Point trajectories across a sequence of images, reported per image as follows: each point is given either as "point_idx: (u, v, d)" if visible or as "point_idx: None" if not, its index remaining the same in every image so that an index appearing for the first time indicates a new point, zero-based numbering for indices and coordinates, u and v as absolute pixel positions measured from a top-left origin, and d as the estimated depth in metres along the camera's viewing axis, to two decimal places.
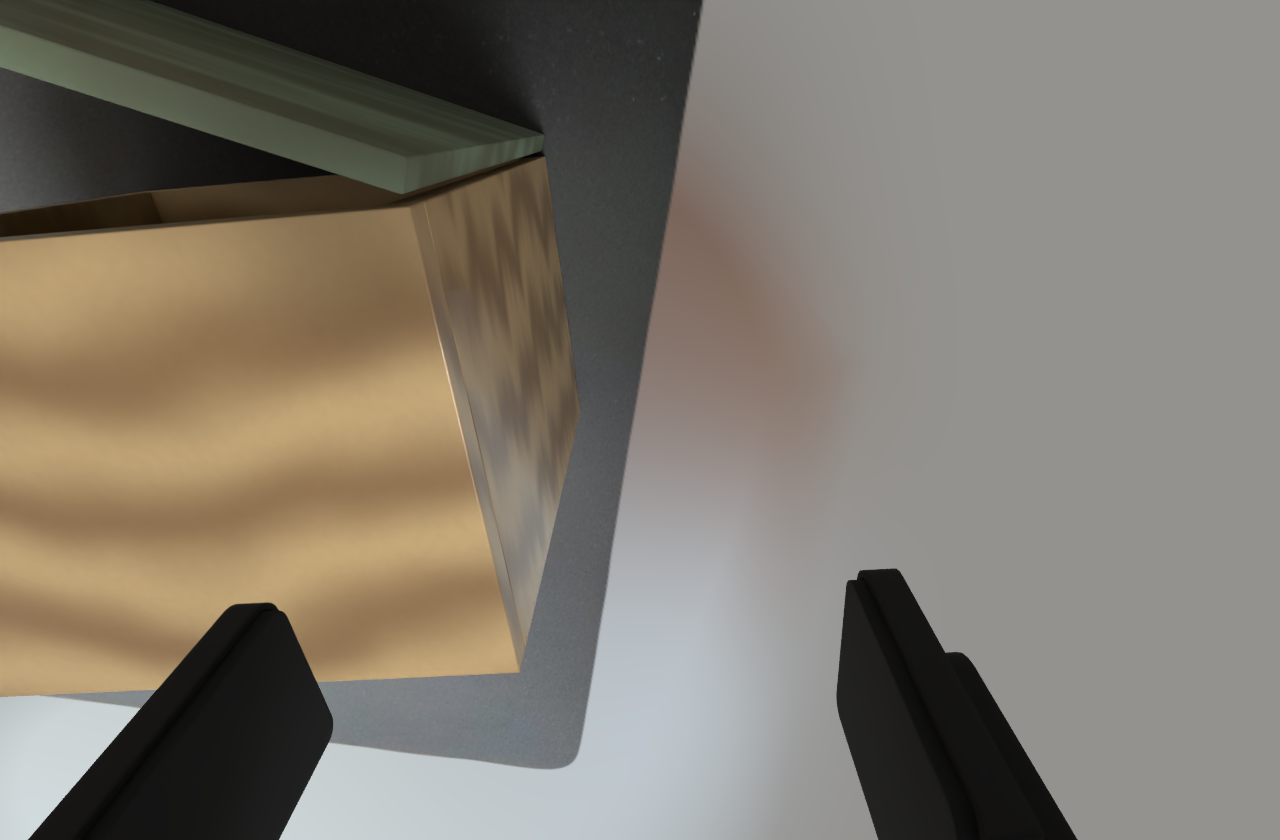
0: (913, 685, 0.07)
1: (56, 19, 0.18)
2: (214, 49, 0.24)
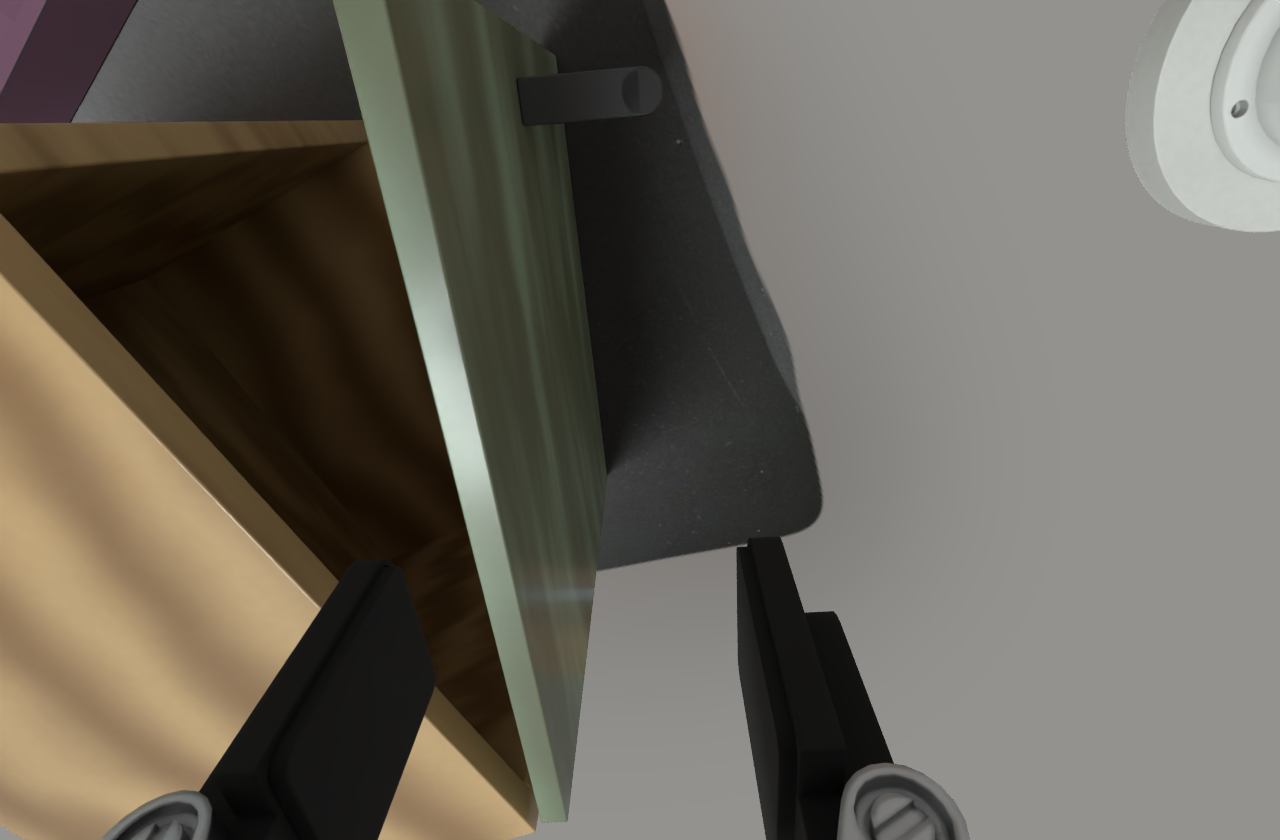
0: (769, 633, 0.08)
1: (535, 485, 0.21)
2: (561, 428, 0.27)
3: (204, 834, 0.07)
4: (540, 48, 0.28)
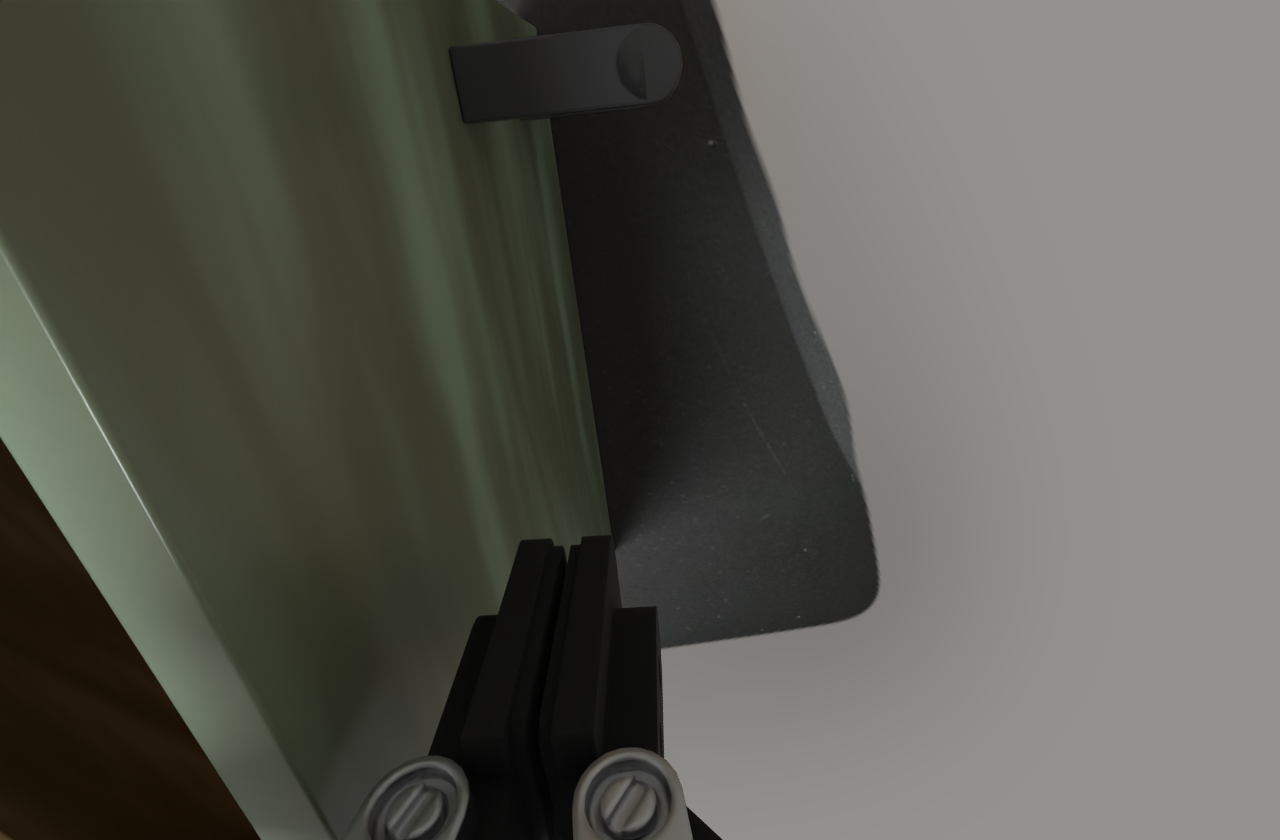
0: (567, 626, 0.09)
1: None
2: None
3: (466, 796, 0.07)
4: (506, 13, 0.20)
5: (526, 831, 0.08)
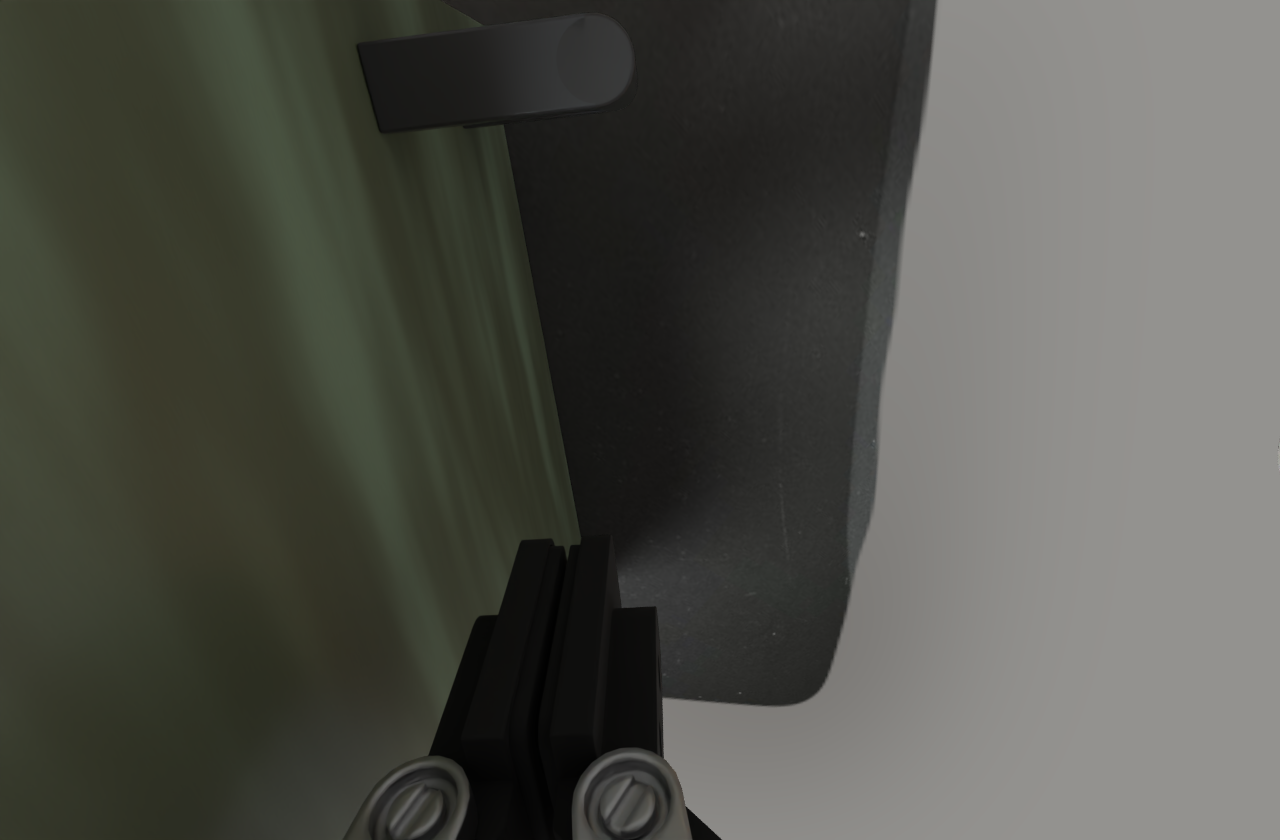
0: (566, 626, 0.09)
1: None
2: None
3: (466, 796, 0.07)
4: (444, 7, 0.17)
5: (527, 830, 0.08)
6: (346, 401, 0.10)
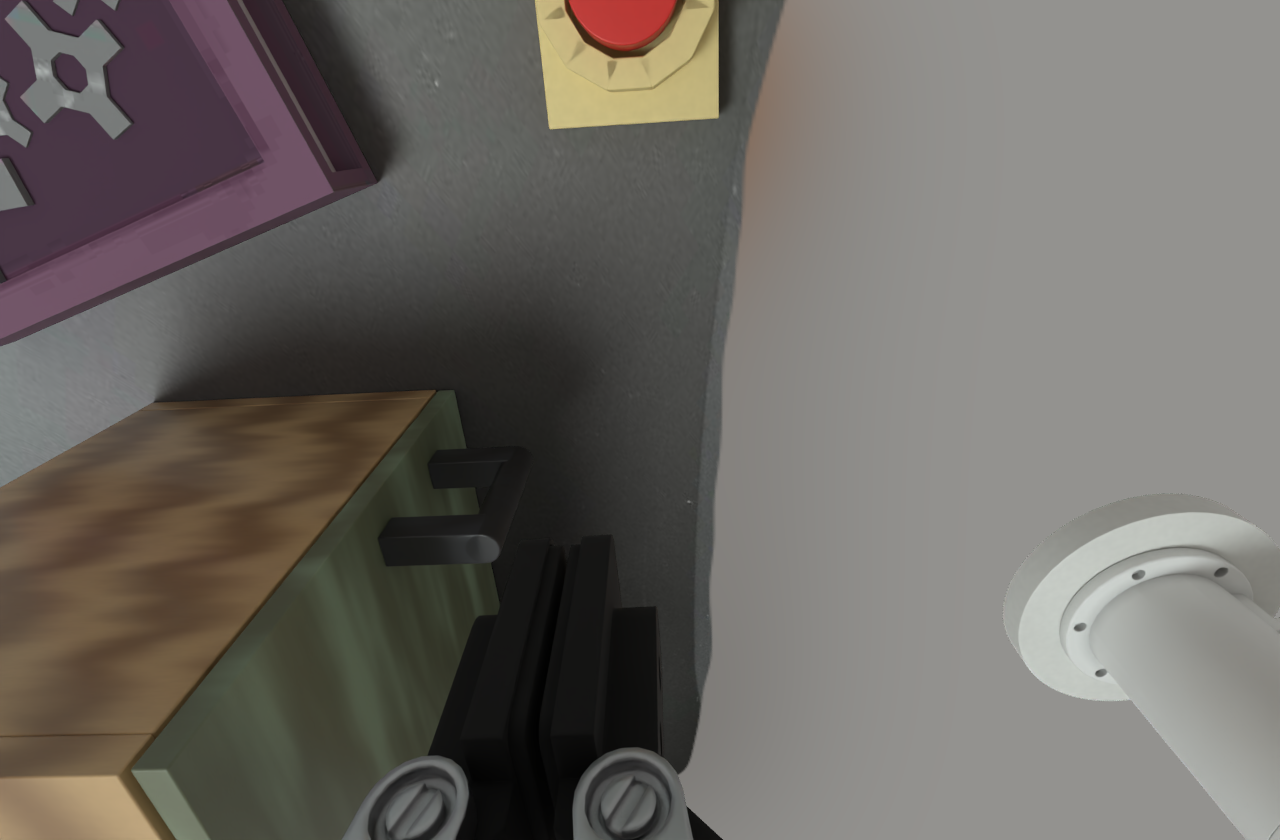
0: (567, 626, 0.09)
1: None
2: None
3: (465, 796, 0.07)
4: (425, 431, 0.32)
5: (526, 830, 0.08)
6: (366, 714, 0.25)
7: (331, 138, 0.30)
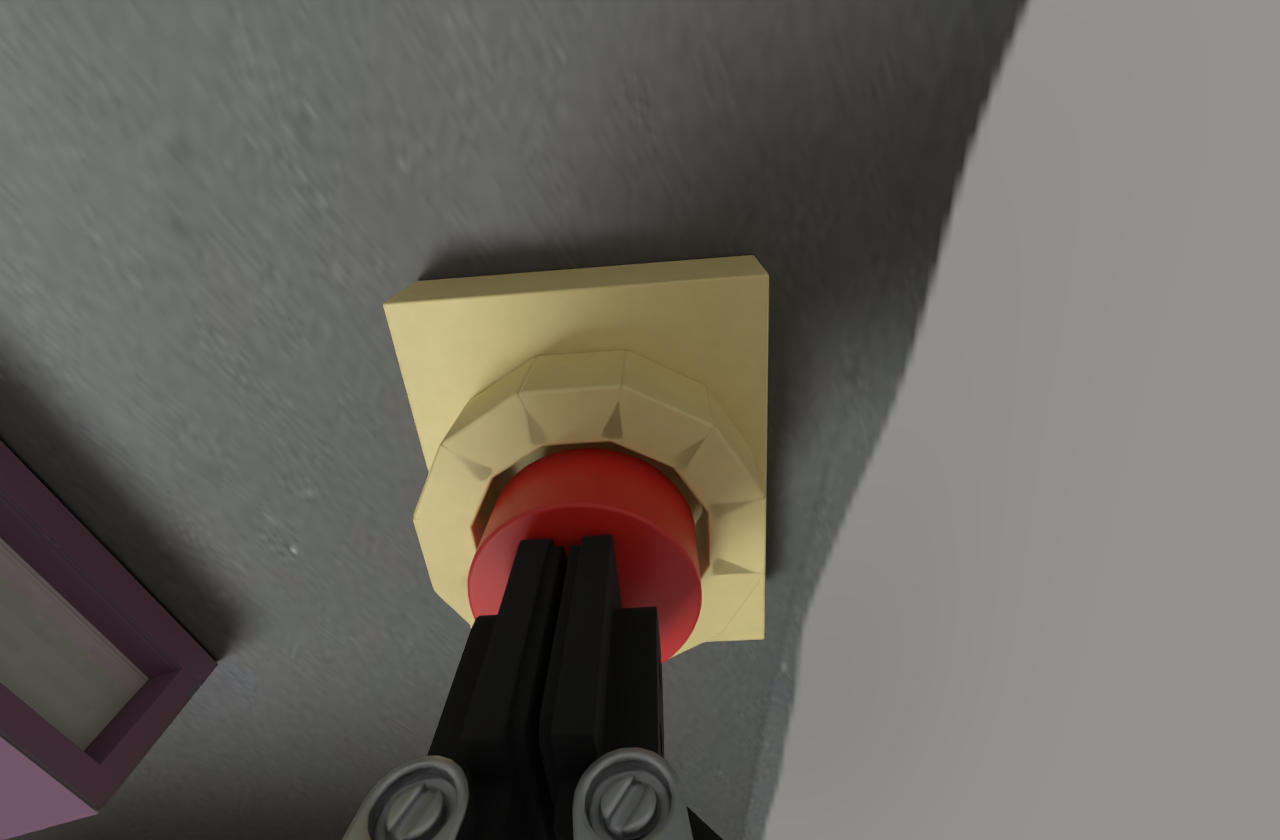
0: (567, 626, 0.09)
1: None
2: None
3: (465, 796, 0.07)
4: None
5: (526, 830, 0.08)
6: None
7: (126, 636, 0.18)
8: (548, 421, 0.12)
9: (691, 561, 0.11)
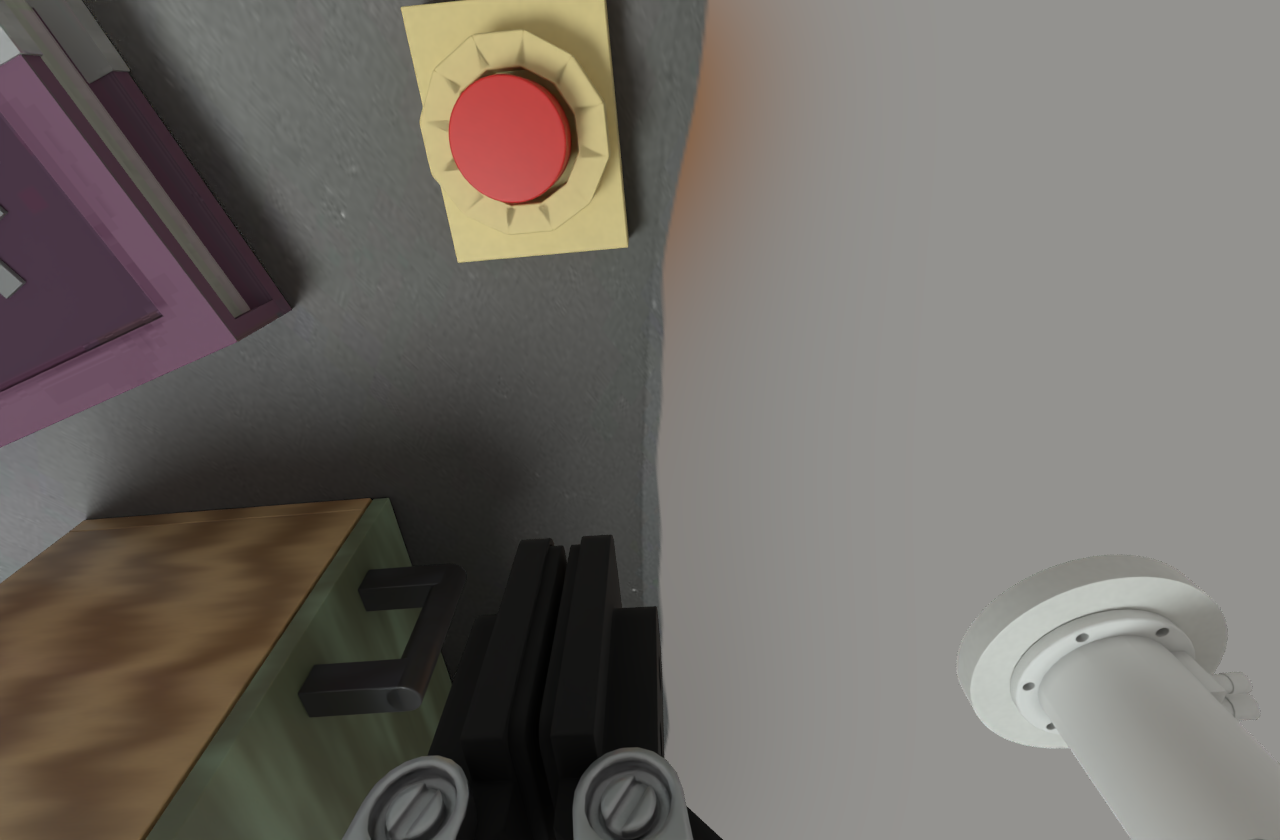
0: (567, 626, 0.09)
1: None
2: None
3: (466, 795, 0.07)
4: (354, 557, 0.32)
5: (526, 829, 0.08)
6: None
7: (238, 273, 0.30)
8: (487, 52, 0.23)
9: (558, 112, 0.22)
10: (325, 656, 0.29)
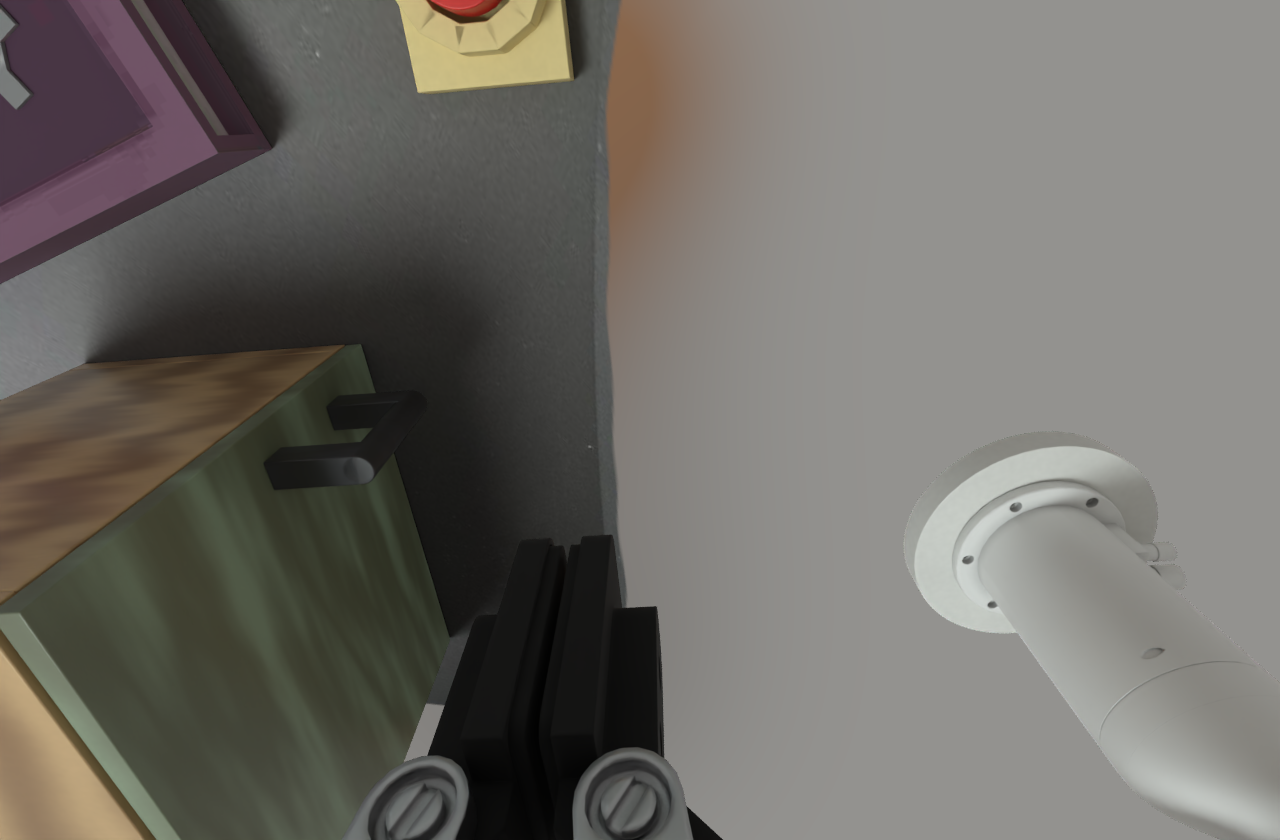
0: (567, 626, 0.09)
1: (267, 780, 0.28)
2: (333, 685, 0.34)
3: (465, 796, 0.07)
4: (323, 376, 0.35)
5: (526, 829, 0.08)
6: (250, 615, 0.28)
7: (223, 107, 0.33)
8: None
9: None
10: (292, 446, 0.32)
